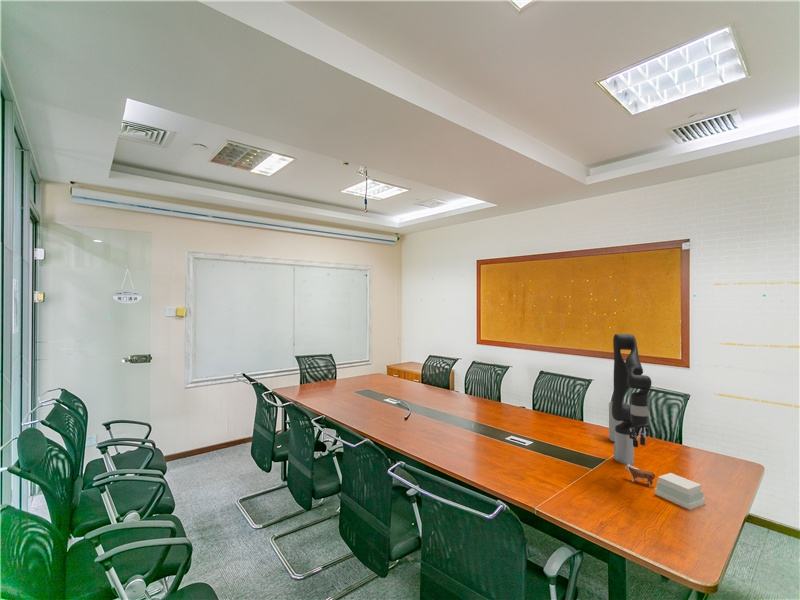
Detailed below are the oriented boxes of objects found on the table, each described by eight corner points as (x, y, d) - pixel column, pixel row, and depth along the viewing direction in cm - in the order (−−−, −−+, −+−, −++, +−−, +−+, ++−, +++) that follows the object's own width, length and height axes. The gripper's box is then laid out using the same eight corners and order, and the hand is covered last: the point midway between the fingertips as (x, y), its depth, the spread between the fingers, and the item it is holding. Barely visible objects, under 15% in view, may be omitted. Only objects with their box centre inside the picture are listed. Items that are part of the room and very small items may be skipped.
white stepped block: (654, 494, 176) (654, 476, 176) (669, 489, 181) (669, 471, 181) (690, 510, 162) (689, 490, 162) (705, 504, 167) (704, 485, 167)
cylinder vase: (632, 440, 245) (632, 403, 245) (628, 446, 236) (628, 407, 236) (611, 436, 253) (611, 400, 254) (607, 441, 244) (606, 404, 244)
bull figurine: (625, 477, 194) (625, 461, 194) (655, 486, 184) (655, 470, 184) (623, 479, 191) (623, 464, 191) (653, 489, 181) (653, 472, 181)
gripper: (640, 409, 194) (640, 441, 194) (622, 413, 188) (622, 445, 188) (655, 413, 187) (655, 446, 187) (637, 417, 181) (637, 451, 181)
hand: (639, 445), depth 187 cm, fingers open, 5 cm apart
